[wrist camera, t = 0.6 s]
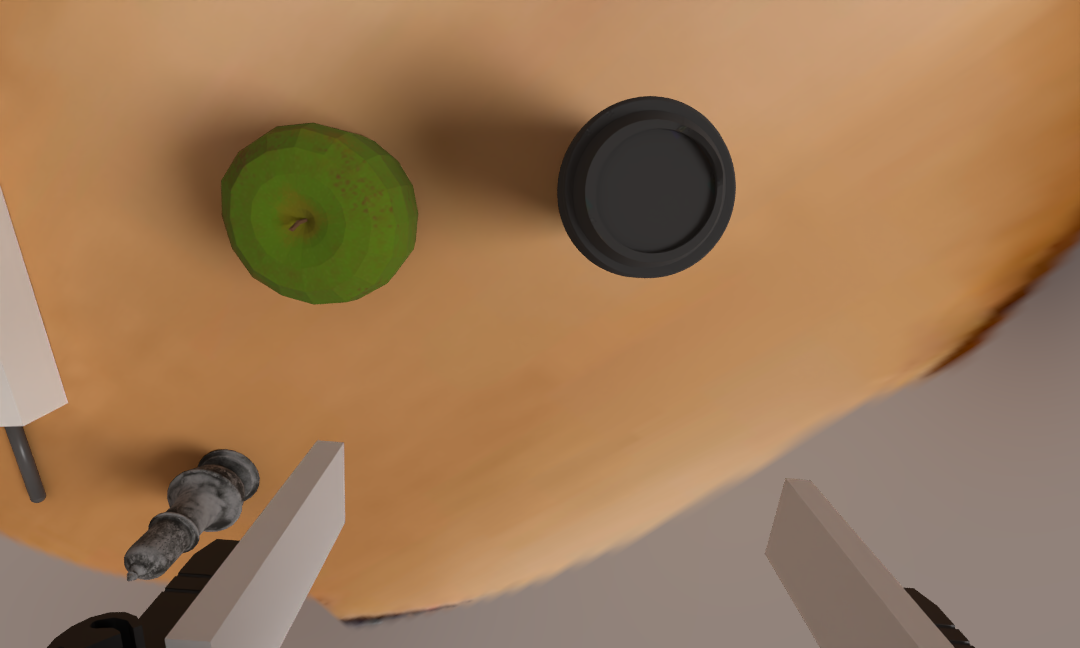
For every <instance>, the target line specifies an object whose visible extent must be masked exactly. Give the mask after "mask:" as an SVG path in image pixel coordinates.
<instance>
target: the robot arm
mask: <svg viewBox="0 0 1080 648" xmlns="http://www.w3.org/2000/svg"><path fill="white" fill-rule="evenodd" d="M344 523H345V483H344V443H342V442H330V441H318V440H317V441H316V443H315V444H314V445H313V447H312V448H311V449H310V451H309V452H308V453H307V454H306V456H305V457H304V458H303V460H302V461H301V462H300V464H299V465H298V466H297V467H296V469H295V470H294V471H293V473H292V474H291V475H290V477H289V478H288V479H287V480H286V482H285V483H284V484H283V486H282V487H281V488H280V490H279V491H278V492H277V493H276V495H275V496H274V497H273V499H272V500H271V501H270V503H269V504H268V505H267V506H266V508H265V509H264V510H263V512H262V513H261V514H260V516H259V517H258V518H257V519H256V521H255V522H254V523H253V525H252V526H251V527H250V529H249V530H248V531H247V532H246V534H245V535H244V536H243V538H242V539H241V540H240V541H236V540H222V539H216V540H215V541H213V542H212V543H210V544H209V545H207V546H206V547H204V548H203V549H201V550H200V551H198V552H197V553H195V554H194V555H193V556H192V557H191V559H190V560H189V561H188V562H187V563H186V564H185V566H184V567H183V568H182V569H181V570H180V571H179V573H178V576H175V577H174V578H173V580H172V581H171V582H170V583H169V584H168V585H167V586H166V588H165V591H164V592H161V594H160V595H159V596H158V597H157V598H156V599H155V600H154V602H153V603H152V604H151V605H150V606H149V607H148V609H147V610H146V611H145V612H144V613H143V614H142V616H141V617H140V618H139V619H138V618H137V616H134V615H131V614H129V613H126V612H110V613H106V614H102V615H98V616H94V617H90V618H88V619H86V620H84V621H82V622H80V623H78V624H76V625H74V626H72V627H70V628H69V629H67V630H66V631H65V632H63V633H62V634H60V635H59V636H58V637H56V638H55V639H54V640H53V641H52V642H51V644H50V645H49V646H48V647H47V648H280V646H281V645H282V643H283V640H284V639H285V637H286V635H287V633H288V631H289V629H290V627H291V625H292V623H293V621H294V620H295V618H296V616H297V614H298V612H299V610H300V608H301V606H302V604H303V602H304V600H305V598H306V596H307V595H308V593H309V591H310V589H311V587H312V585H313V583H314V581H315V579H316V577H317V575H318V573H319V571H320V570H321V568H322V566H323V564H324V562H325V560H326V558H327V556H328V554H329V552H330V550H331V548H332V546H333V545H334V543H335V541H336V539H337V537H338V535H339V533H340V531H341V529H342V527H343V525H344ZM765 555H766V556H767V558H768V560H769V561H770V563H771V565H772V566H773V568H774V570H775V572H776V573H777V575H778V577H779V578H780V580H781V582H782V584H783V585H784V587H785V589H786V590H787V592H788V594H789V595H790V597H791V599H792V601H793V602H794V604H795V606H796V607H797V609H798V611H799V613H800V614H801V616H802V618H803V619H804V621H805V623H806V625H807V626H808V628H809V630H810V631H811V633H812V635H813V637H814V638H815V640H816V642H817V643H818V645H819V647H820V648H975V647H974V646H970V644H969V641H968V639H967V638H966V637H965V636H964V635H963V634H962V633H961V632H960V631H959V629H955V625H954V624H953V623H952V622H951V621H950V620H949V618H948V617H946V615H945V614H944V613H943V612H942V611H941V610H940V608H939V607H938V606H937V605H935V604H934V603H933V602H931V601H930V600H929V599H927V598H926V597H925V596H923V595H922V594H920V593H919V592H918V591H916V590H915V589H914V588H903V587H902V586H901V585H900V584H899V582H898V581H897V580H896V579H895V578H894V577H893V576H892V574H891V573H890V572H889V571H888V570H887V569H886V567H885V566H884V565H883V564H882V563H881V562H880V561H879V559H878V558H877V557H876V556H875V555H874V554H873V552H872V551H871V550H870V549H869V548H868V547H867V545H866V544H865V543H864V542H863V541H862V540H861V538H860V537H859V536H858V535H857V534H856V533H855V531H854V530H853V529H852V528H851V527H850V526H849V524H848V523H847V522H846V521H845V520H844V519H843V518H842V516H841V515H840V514H839V513H838V512H837V511H836V509H835V508H834V507H833V506H832V505H831V504H830V502H829V501H828V500H827V499H826V498H825V497H824V495H823V494H822V493H821V492H820V491H819V490H818V489H817V487H816V486H815V485H814V484H813V483H812V481H810V480H802V479H789V478H785V482H784V486H783V490H782V493H781V497H780V500H779V504H778V508H777V511H776V515H775V519H774V523H773V526H772V530H771V533H770V537H769V541H768V545H767V548H766V552H765Z"/></svg>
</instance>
